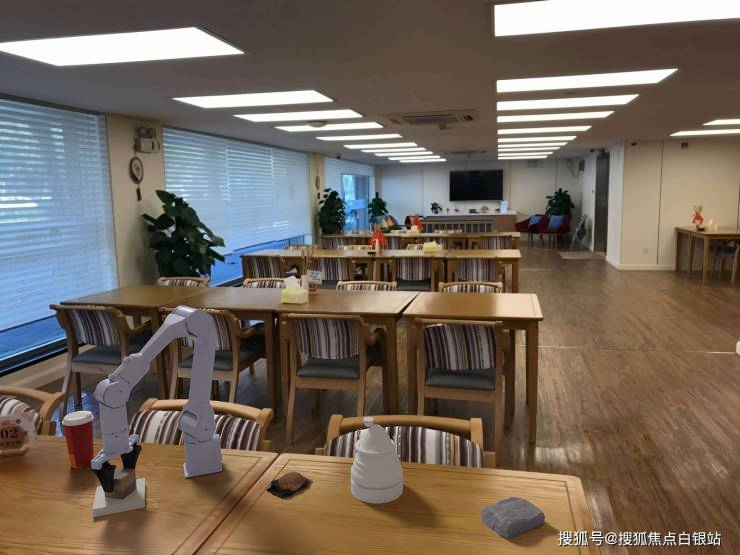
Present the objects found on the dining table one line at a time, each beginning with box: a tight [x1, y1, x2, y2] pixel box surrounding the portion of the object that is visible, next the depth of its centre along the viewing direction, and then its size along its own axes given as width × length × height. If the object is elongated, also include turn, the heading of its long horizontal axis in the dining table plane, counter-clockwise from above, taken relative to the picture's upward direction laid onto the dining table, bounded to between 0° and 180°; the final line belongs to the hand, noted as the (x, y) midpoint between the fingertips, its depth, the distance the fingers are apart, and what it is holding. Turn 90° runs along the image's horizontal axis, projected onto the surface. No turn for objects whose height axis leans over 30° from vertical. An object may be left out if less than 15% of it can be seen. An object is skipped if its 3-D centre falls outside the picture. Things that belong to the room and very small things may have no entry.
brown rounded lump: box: [266, 471, 314, 500], centre depth 140 cm, size 11×8×4 cm
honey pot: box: [350, 416, 404, 504], centre depth 136 cm, size 13×13×18 cm
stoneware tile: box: [92, 477, 146, 518], centre depth 134 cm, size 11×11×2 cm
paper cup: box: [61, 410, 95, 469], centre depth 152 cm, size 8×8×14 cm
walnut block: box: [104, 466, 137, 499], centre depth 134 cm, size 5×5×5 cm
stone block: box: [480, 496, 546, 540], centre depth 123 cm, size 12×5×10 cm
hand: (119, 483), depth 134 cm, fingers open, 7 cm apart
